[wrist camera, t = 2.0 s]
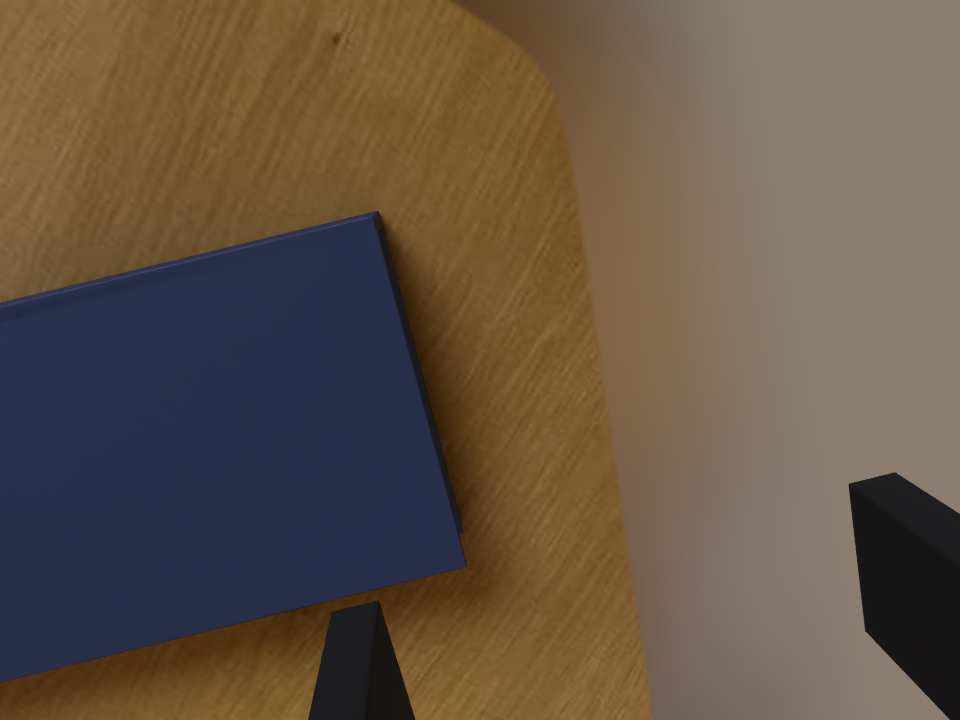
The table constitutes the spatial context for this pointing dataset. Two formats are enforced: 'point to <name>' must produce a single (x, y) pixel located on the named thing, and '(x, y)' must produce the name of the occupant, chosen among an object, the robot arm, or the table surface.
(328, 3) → the table surface
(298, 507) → the book
